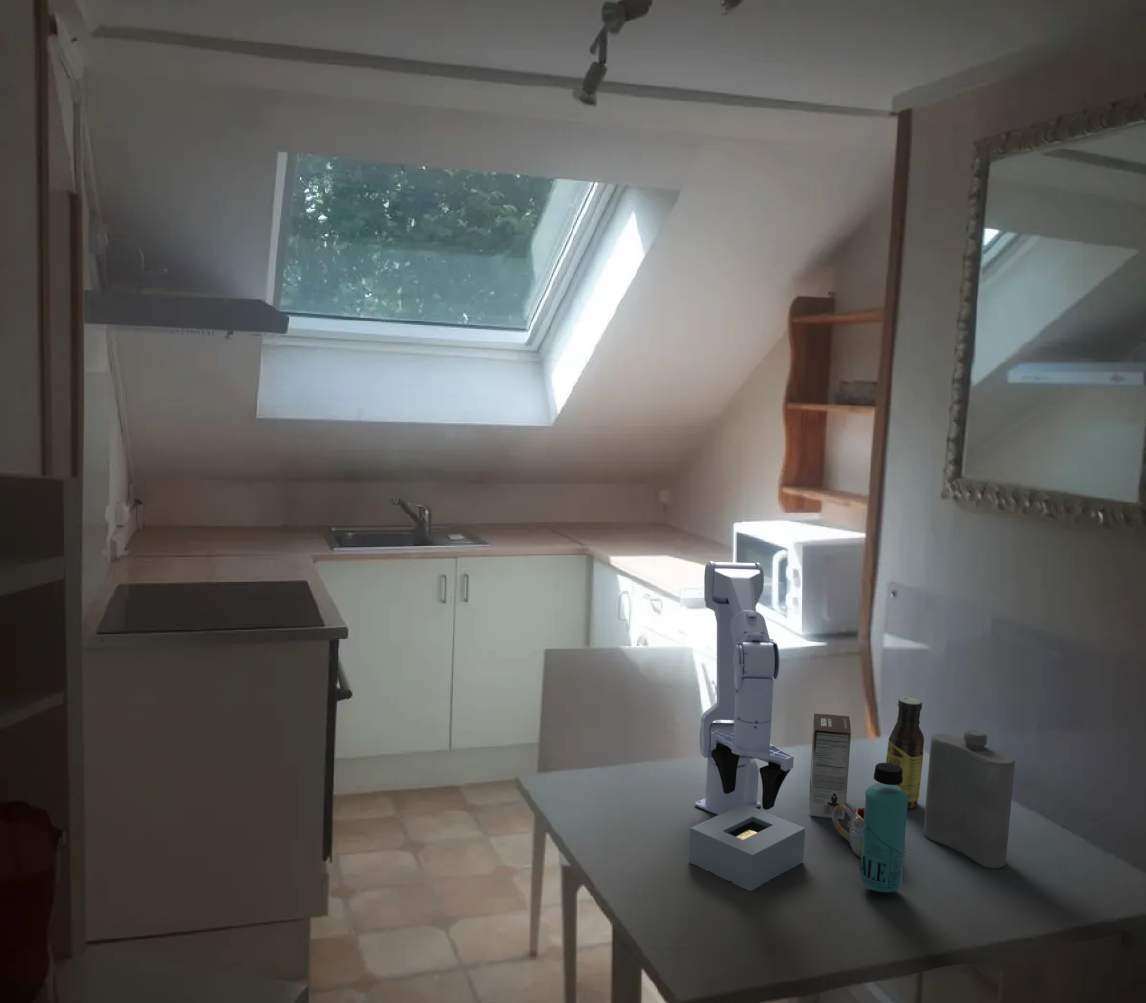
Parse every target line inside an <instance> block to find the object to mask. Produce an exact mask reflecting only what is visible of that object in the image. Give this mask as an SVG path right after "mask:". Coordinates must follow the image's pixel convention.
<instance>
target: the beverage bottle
mask: <svg viewBox="0 0 1146 1003" xmlns="http://www.w3.org/2000/svg"><path fill="white" fill-rule="evenodd" d="M873 779H874V780H875V781H876V782H877V783H873V784H872V785H870V786H869V787H868V788H866V790H865V793H864V795H865V800H864V801H865V802H864V805H865V806H864V808H865V811H864V813H863V814H864V825H862V826H863V828H862V829H863V832H862V833H863V837H862V838H863V839H861V840H862V841H861V842H862V843H861V844H862V845H861V846H862V852H861V851H860V853H861V855H860V856H861V857H860V858H859V861H860V864H859V870H858V871H859V874H858V876H859V879H860V882H861V883H862V885H863V886H865V887H866V888H868V889H870V890H873V891H875V892H881V893H894V892H898V891H899V890H900V889H901V888H902V885H903V878H904V873H905V871H904V870H905V864H904V863H905V857H906V856H905V853H906V851H905V850H906V849H905V848H906V842H905V841H906V831H907V830H906V827H907V817H908V809H907V806H908V800H909V798H908V796H907V794H906V793H905V792H904V791H903V790H902V789H901V788H900V787H899V786H897V785H899V784H901V783H902V781H903V777H902V768H901V767H900V766H898V765H895V764H892V763H886V762H879V763H876V765H875V766H874V773H873ZM863 810H864V809H863Z"/></svg>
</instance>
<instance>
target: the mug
mask: <svg viewBox="0 0 1146 1003" xmlns="http://www.w3.org/2000/svg"><path fill="white" fill-rule="evenodd" d="M839 809H842V810H844V811H845V814H847V815H848V817H849V819H850V820H849V821H847V827H848V829H849V830H848V831H849V832H848V831H847V830H846V829H844V828H843V827H842V825H841V823H840V822H839V819H838V818H837V812H838V810H839ZM863 809H864V810H863ZM864 811H865V807H856V808H855V810H854V812H852V811H851V809H850V808H849V807H848V806H847V805H846V806H844V805H837V806H835V807H834V809H833V810H832V818H831V820H832V823H833V825H834V827H835V829H836V831H837V832H838V833H839V835H840V836H842V838H844V839H845V840H846V841H847V843H849V844H850V847H851V850H852V852H853V854H855V855H856V856H858V857H859V858H861V856H860V855H861V853H860V851H861V852H862V846H861V845H862V844H861V843H862V842H861V841H862V840H861V839H863V838H862V837H863V833H862V832H863V829H862V828H863V826H862V825H864V814H863V813H864Z"/></svg>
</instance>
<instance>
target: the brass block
mask: <svg viewBox="0 0 1146 1003" xmlns="http://www.w3.org/2000/svg"><path fill="white" fill-rule="evenodd" d="M756 833H757V832H754V831H752V830H747V831H746V832H744V833H742V834H740V835H738V836H736V837H738V838H740V839H742V840H744V839H746V838H748V837H750V836H752V835H754V834H756Z"/></svg>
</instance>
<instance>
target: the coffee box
mask: <svg viewBox="0 0 1146 1003" xmlns="http://www.w3.org/2000/svg"><path fill="white" fill-rule="evenodd" d="M851 730H852V728H851V720H850V716H848V715H839V714H825V713H814V714H813V725H812V740H811V742H812V743H811V744H812V745H811V758H810V771H809V772H810V773H809V796H808V797H809V798H808V799H809V803H808V804H809V816H810V817H818V818H825V819H826V818H828V819H832V810H833V809H834V807H835V806H837V805H844V806H846V807H847V793H848V792H847V791H848V781H849V780H848V779H849V778H848V777H849V767H850V766H849V765H850V752H851V750H850V749H851V739H852V731H851ZM837 818H838V820H846V819H845V818H846V812H845V811H844V810H842V809H839V810H838V812H837Z"/></svg>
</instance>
